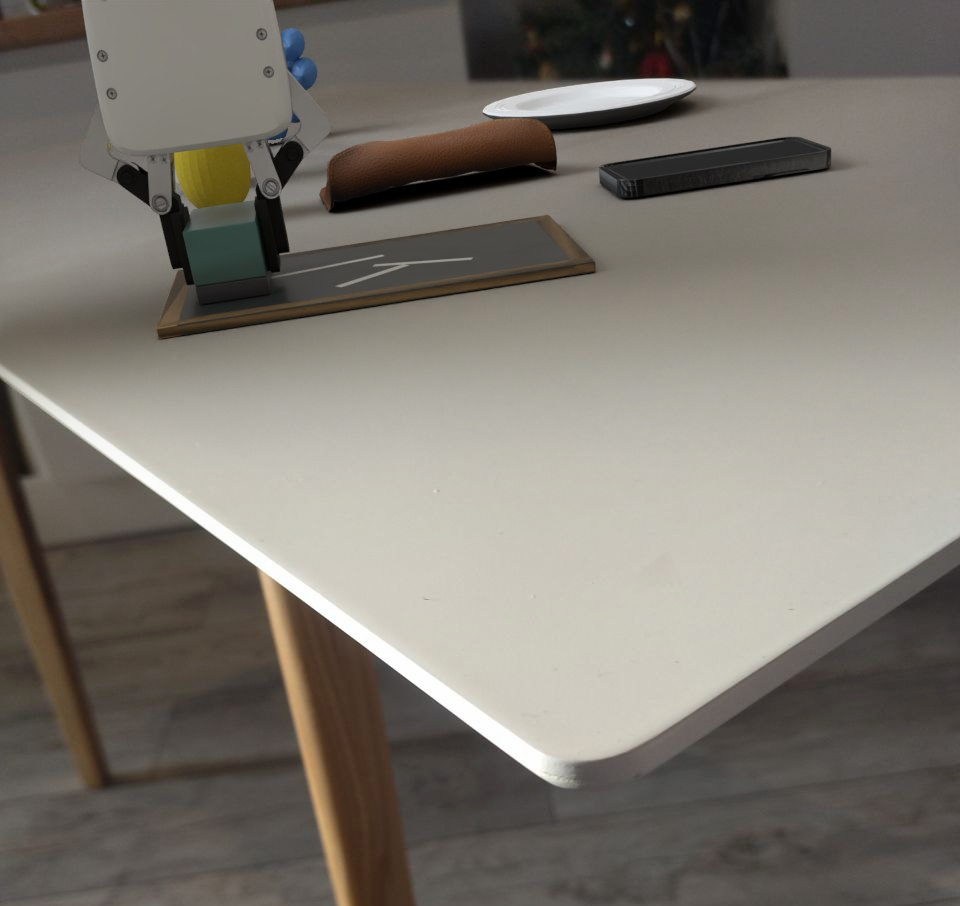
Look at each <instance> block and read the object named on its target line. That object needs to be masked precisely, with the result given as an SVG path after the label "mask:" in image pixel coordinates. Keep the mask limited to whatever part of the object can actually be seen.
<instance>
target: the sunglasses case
mask: <svg viewBox="0 0 960 906" xmlns="http://www.w3.org/2000/svg"><path fill="white" fill-rule="evenodd" d="M529 164H533V165H535V166H537V167H539V168H541V169H542V170H543V169H544V170H547V171H554V172H555V171H557V167H558V155H557V146H556V141H555V137H554V135H553V133H552V131H551V129H549V128H548V127H547V126H546V125H545V124H544V123H542V122H541V121H539V120H536V119H528V118H503V119H495V120H494V119H490V120H485V121H481V122H478V123H473V124H471V125H469V126H468V125H467V126H465V127H461V128H456V129H451V130H446V131H443V132H436V133H431V134H426V135H419V136H413V137H406V138H399V139H395V140H394V139H393V140H374V141H373V140H372V141H366V142H362V143H359V144H354V145H352V146H349V147H346V148H345V149H342V150H341V151H339V152H337V153H336V154H334V155H333V156H332V157H331V158H330V159H329V161H328V162H327V165H326V166H327V167H326V177H327V179H326V184H325V186H323V187H322V188H321V189H320V190H319V194H318V195H319V198H320V201H321V202H322V204H323V206H324V205H325V206H324V207H325V209H326V211H327V212H331V210H332V209H334V208H335V202H337V203H339V202H340V203H341V202H346V201H350V200H353V199H357V198H363V197H365V196H369V195H372V194H377V193H378V194H379V193H383V192H385V191H388V190H389V189H390V188H400V187H404V186H406V185H410V184H413V183H416V182H428V181H433V180H439V179H447V178H455V177H458V176H462V175H467V174H469V173H470V174H471V173H483V172H484V173H485V172H492V171H496V170H500V169H507V168H512V167H519V166H524V165H529Z"/></svg>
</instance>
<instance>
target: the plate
mask: <svg viewBox="0 0 960 906" xmlns="http://www.w3.org/2000/svg"><path fill="white" fill-rule="evenodd" d="M696 90H697V85H696V84H695V82H694V81H692V80H687V79H681V78H666V77H665V78H664V77H663V78H662V77H661V78H636V79H634V78H633V79H620V80H609V81H599V82H590V83H581V84H574V85H567V86H560V87H554V88H547V89H541V90H537V91H531V92H526V93H522V94H518V95H513V96H510V97H506V98H503V99H500V100H496V101H493V102H491V103H490V104H487V105H485V106H484V107H483V110H482V115H483V116H485V117H487V118H489V119H490V120H495V119H503V118H528V119H536V120H539V121H541V122H542V123H544V124H545V125H546V126H547V127H548V128H549V130H567V129H568V130H569V129H579V128H580V129H582V128H589V127H597V126H606V125H611V124H617V123H623V122H629V121H632V120H633V121H634V120H638V119H641V118H645V117H648V116H651V115H652V116H653V115H655V114H657V113H660V112H662V111H664V110H665V109H667V108H668V107H669V106H671V105H672V104H674V103H677V102H679V101H682V99H684V98H686V97H688V96H690V95H691V94H693V92H695V91H696Z"/></svg>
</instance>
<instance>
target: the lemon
mask: <svg viewBox="0 0 960 906" xmlns="http://www.w3.org/2000/svg"><path fill="white" fill-rule="evenodd" d="M174 161H175V171H176V175H177V179H178V182H179V184H180V185H179V184H178V185H179V186H180V189H181V191H182V193H183V194H184V196H185V198H186V199H187V200H188V202H189V203H190V204H191V205H192V206H194V207H195V209H198V208H205V207H212V206H219V205H225V204H232V203H239V202H245V200H246V198H247V197H248V194H249V191H250V189H251V179H252V174H251V173H252V172H251V170H252V169H251V165H250V163H249V160H248V158H247V155H246V153H245V150H244V147H243V145H242V143H239V144H232V145H225V146H218V147H211V148H205V149H197V150H190V151H183V152H176V153H174Z"/></svg>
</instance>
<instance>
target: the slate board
mask: <svg viewBox="0 0 960 906" xmlns="http://www.w3.org/2000/svg"><path fill="white" fill-rule="evenodd" d="M279 255H280V261H281V266H280V272H275V273H271V287H270V294H269V295H263V296H256V297H250V298H243V299H236V300H230V301H223V302H216V303H210V304H203V305H199V302H198V297H197V293H196V289H195V287H196V286H195V284H194V285H188V286H187V284H186V281H185V277H184V272H183V269H177V271H176V273H175V275H174V279H173V282H172V284H171V287H170V289H169V292H168V295H167V297H166V299H165V303H164V306H163V308H162V311H161V314H160V316H159V319H158V321H157V323H156V326H155V332H156V336H157V339H158V340H160V339H168V338H174V337H175V338H176V337H180V336H186V335H194V334H199V333H200V334H201V333H206V332H213V331H219V330H220V331H221V330H226V329H233V328H240V327H245V326H252V325H258V324H265V323H271V322H278V321H286V320H291V319H292V320H293V319H297V318H304V317H305V318H306V317H311V316H317V315H318V316H319V315H323V314H330V313H337V312H343V311H350V310H351V311H352V310H357V309H362V308H370V307H376V306H382V305H389V304H395V303H401V302H402V303H403V302H410V301H417V300H422V299H429V298H434V297H435V298H436V297H442V296H449V295H454V294H462V293H468V292H474V291H481V290H486V289H493V288H500V287H507V286H513V285H519V284H526V283H532V282H538V281H544V280H552V279H559V278H565V277H572V276H578V275H584V274H590V273H592V274H593V273H596V270H597V268H596V267H597V266H596V261H595V260H594V259H593V257H591V256H590V255H589V254H588V253H587V252H586V250H585V249H584V248H583V247H581V246H580V245H579V244H578V243H577V242H576V241H575V239H573V237H571V235H570V234H568V233H567V231H565V229H564V228H562V226H560V224H559V223H558V222H556V220H555V219H554V218H553V217H552V216H551V215H550V214H545V215H537V216H531V217H525V218H524V217H523V218H518V219H510V220H505V221H504V220H503V221H498V222H490V223H484V224H478V225H471V226H464V227H457V228H451V229H445V230H438V231H431V232H423V233H417V234H412V235H404V236H397V237H392V238H391V237H390V238H385V239H377V240H371V241H364V242H357V243H351V244H344V245H338V246H331V247H325V248H319V249H318V248H317V249H312V250H304V251H297V252H292V253H283V254H279Z"/></svg>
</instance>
